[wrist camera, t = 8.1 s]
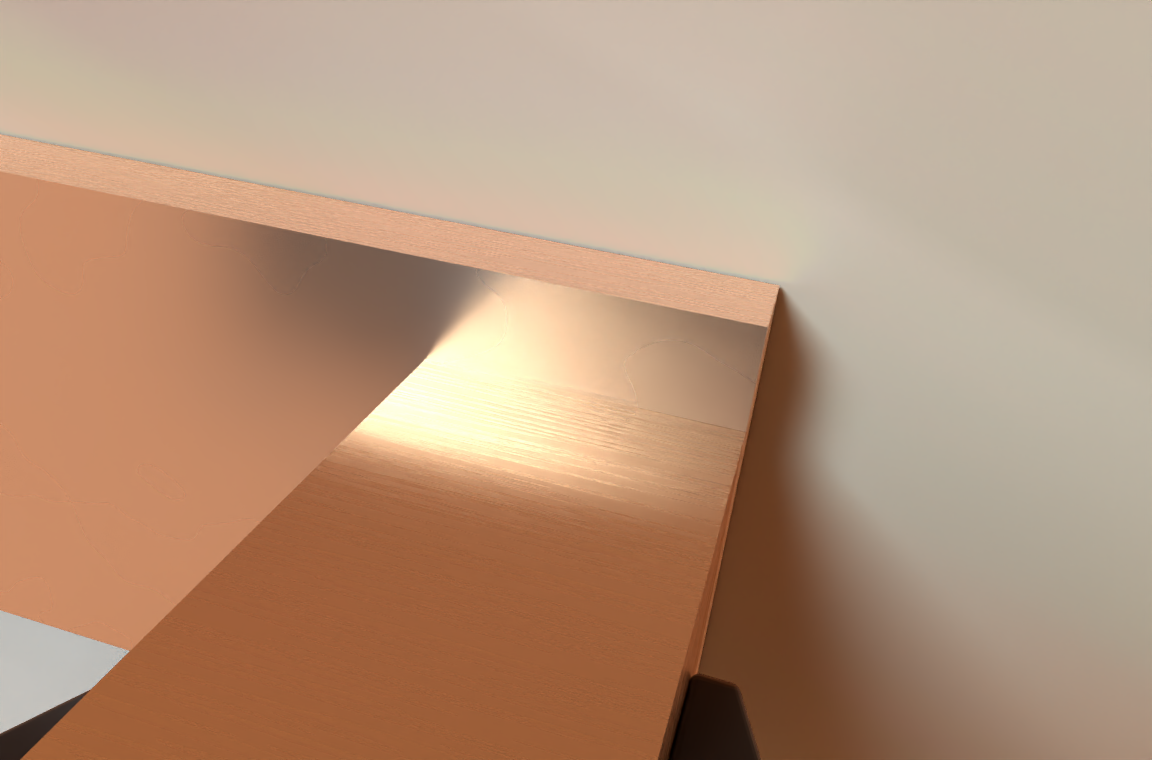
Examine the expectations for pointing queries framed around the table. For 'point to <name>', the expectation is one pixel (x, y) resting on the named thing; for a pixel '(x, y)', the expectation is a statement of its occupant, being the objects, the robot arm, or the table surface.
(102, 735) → the copper plank with block
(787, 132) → the table surface
